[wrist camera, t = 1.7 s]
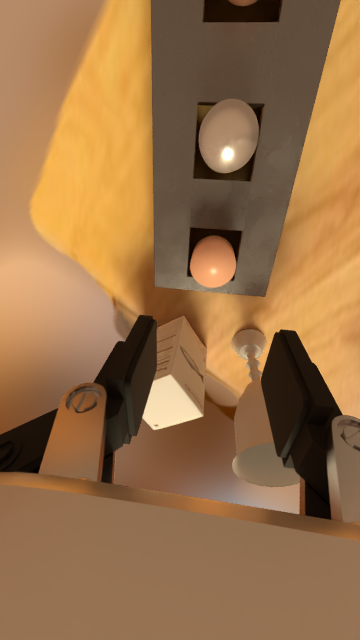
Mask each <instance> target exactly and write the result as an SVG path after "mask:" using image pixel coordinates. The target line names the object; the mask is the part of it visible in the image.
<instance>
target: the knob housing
mask: <svg viewBox="0 0 360 640" xmlns="http://www.w3.org/2000/svg"><path fill="white" fill-rule="evenodd" d="M340 1H341V0H281V2H280V8H279V14H278V20H277V22H204V8H205V0H151V42H152V117H153V192H154V267H155V287H163V288H173V289H184V290H195V291H206V292H217V293H228V294H239V295H250V296H261V297H265V295H266V291H267V287H268V283H269V279H270V275H271V272H272V268H273V264H274V260H275V256H276V252H277V248H278V244H279V240H280V236H281V232H282V228H283V224H284V221H285V217H286V213H287V209H288V205H289V201H290V197H291V193H292V189H293V185H294V181H295V177H296V173H297V170H298V166H299V162H300V158H301V154H302V150H303V146H304V142H305V138H306V134H307V130H308V126H309V122H310V119H311V115H312V111H313V107H314V103H315V99H316V95H317V91H318V87H319V83H320V79H321V75H322V71H323V68H324V64H325V60H326V56H327V52H328V48H329V44H330V40H331V36H332V32H333V28H334V24H335V20H336V17H337V13H338V9H339V5H340ZM226 99H238V100H241V101H243V102H245V103H246V104H248V105H249V106H250V107H263V108H262V114H261V119H260V125H259V136H258V142H257V146H256V149H255V155H254V161H253V166H252V172H251V178H250V181H233V180H214V179H195V178H194V167H195V151H196V135H197V119H198V105H209V106H214V105H216V104H217V103H219V102H221V101H223V100H226ZM191 227H194V228H209V229H223V230H238V231H241V237H240V243H239V249H238V254H237V260H236V270H235V273H234V275H233V277H232V278H231V280H230V281H229V282H227V283H226V284H224V285H222V286H220V287H215V288H210V287H205V286H203V285H201V284H199V283H198V282H197V281H196V280H195V279H194V278H193V276H192V274H191V270H190V264H189V263H188V262H189V246H190V230H191Z"/></svg>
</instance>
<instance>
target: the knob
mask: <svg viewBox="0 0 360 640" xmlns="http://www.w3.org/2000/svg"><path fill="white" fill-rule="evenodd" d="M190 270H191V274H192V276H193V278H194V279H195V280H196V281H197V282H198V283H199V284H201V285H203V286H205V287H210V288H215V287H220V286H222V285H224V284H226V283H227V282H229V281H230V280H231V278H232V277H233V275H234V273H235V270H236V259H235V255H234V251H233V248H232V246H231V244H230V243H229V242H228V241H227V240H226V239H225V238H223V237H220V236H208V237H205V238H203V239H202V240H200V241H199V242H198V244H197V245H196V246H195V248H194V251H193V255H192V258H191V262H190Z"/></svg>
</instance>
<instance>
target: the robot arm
mask: <svg viewBox="0 0 360 640" xmlns="http://www.w3.org/2000/svg"><path fill="white" fill-rule="evenodd" d="M156 369H157V321H156V320H153V318H152V316H145V315H139V317H138V319H137V321H136V322H135V324H134V326H133V328H132V330H131V332H130V333H129V335H128V337H127V339H126V341H125V342H123V341H118V342H117V343H116V345H115V347H114V348H113V350H112V352H111V353H110V355H109V357H108V359H107V360H106V362H105V364H104V365H103V367H102V369H101V370H100V372H99V374H98V376H97V377H96V379H95V381H94V382H93V383H82V384H79V385H77V386H74V387H73V388H71V389H70V390H68V391H67V392H66V393H65V394H64V396H63V397H62V399H61V402H60V405H59V408H57V409H55V410H53V411H51V412H49V413H46V414H44V415H42V416H40V417H38V418H36V419H34V420H31V421H29V422H27V423H25V424H23V425H21V426H18V427H16V428H14V429H12V430H10V431H8V432H5V433H3V434H1V435H0V640H360V419H358V418H356V417H352V416H348V415H342V413H341V411H340V409H339V407H338V405H337V403H336V402H335V400H334V398H333V396H332V394H331V392H330V390H329V388H328V387H327V385H326V383H325V381H324V379H323V377H322V375H321V374H320V372H319V370H318V368H317V366H316V365H315V364H314V363H312V362H311V360H310V358H309V356H308V354H307V352H306V350H305V348H304V346H303V344H302V342H301V340H300V339H299V337H298V335H297V333H296V331H291V330H282V329H281V330H280V331H279V332H276V333H275V334H274V337H273V341H272V344H271V347H270V350H269V354H268V357H267V360H266V364H265V367H264V370H263V373H262V377H261V387H262V391H263V396H264V400H265V405H266V409H267V414H268V418H269V423H270V427H271V432H272V436H273V441H274V445H275V450H276V454H277V456H278V457H282V462H283V466H284V467H285V468H292V469H295V472H296V473H297V474H298V475H299V476H300V505H299V506H300V509H299V512H300V513H299V514H292V513H287V512H281V511H275V510H269V509H263V508H257V507H251V506H245V505H239V504H233V503H227V502H221V501H215V500H209V499H202V498H196V497H190V496H184V495H178V494H172V493H166V492H159V491H153V490H147V489H141V488H134V487H128V486H122V485H115V484H114V473H115V455H116V450H117V449H119V448H120V447H122V446H123V443H125V444H130V441H131V438H132V436H137V433H138V430H139V427H140V424H141V420H142V417H143V414H144V410H145V407H146V404H147V400H148V397H149V394H150V390H151V387H152V384H153V380H154V377H155V374H156Z"/></svg>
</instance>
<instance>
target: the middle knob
mask: <svg viewBox="0 0 360 640" xmlns="http://www.w3.org/2000/svg"><path fill="white" fill-rule="evenodd" d="M258 136H259V127H258V121H257V118H256V115H255V113H254V111H253V110H252V108H251V107H250V106H249V105H248V104H246V103H245V102H243V101H241V100H238V99H226V100H223V101H221V102H219V103H217V104H216V105H214V106H213V107H212V108H211V109H210V110H209V112H208V113H207V114H206V116H205V118H204V119H203V122H202V124H201V127H200V132H199V148H200V152H201V155H202V157H203V159H204V161H205V162H206V164H207V165H208V166H209V167H210V168H211V169H212V170H214V171H216V172H219V173H229V172H233V171H236V170H238V169H239V168H241V167H242V166H244V165H245V164H246V163H247V162H248V161H249V159H250V158H251V156H252V155H253V153H254V151H255V149H256V146H257V142H258Z"/></svg>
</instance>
